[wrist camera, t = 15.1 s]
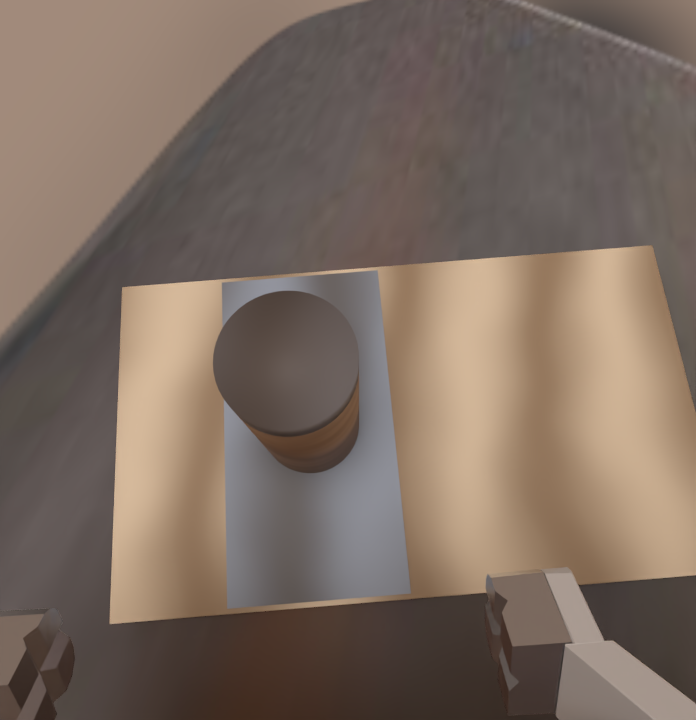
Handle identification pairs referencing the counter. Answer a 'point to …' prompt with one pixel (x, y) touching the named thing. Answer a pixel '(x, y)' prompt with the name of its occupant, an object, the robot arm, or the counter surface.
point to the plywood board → (412, 441)
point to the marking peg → (292, 377)
